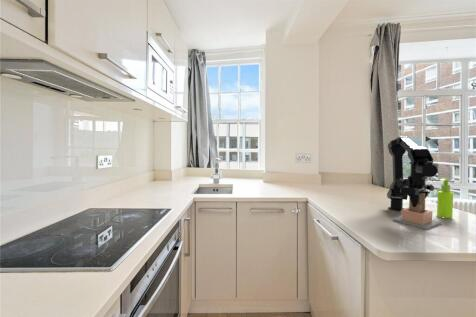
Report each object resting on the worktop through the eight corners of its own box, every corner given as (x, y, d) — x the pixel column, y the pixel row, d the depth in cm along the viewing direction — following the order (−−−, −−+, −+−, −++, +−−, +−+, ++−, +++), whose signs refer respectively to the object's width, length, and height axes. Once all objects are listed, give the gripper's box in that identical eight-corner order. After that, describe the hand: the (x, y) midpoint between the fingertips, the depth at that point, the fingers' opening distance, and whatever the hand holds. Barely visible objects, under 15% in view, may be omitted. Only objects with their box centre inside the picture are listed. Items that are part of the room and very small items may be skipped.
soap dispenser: (433, 216, 118) (434, 178, 117) (440, 214, 121) (442, 177, 119) (447, 219, 113) (448, 180, 111) (454, 217, 115) (456, 179, 114)
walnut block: (413, 209, 112) (414, 191, 112) (424, 211, 108) (425, 193, 108) (409, 210, 110) (409, 192, 110) (419, 213, 106) (420, 194, 106)
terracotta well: (407, 216, 119) (408, 204, 119) (441, 224, 107) (441, 211, 106) (392, 220, 112) (393, 208, 112) (426, 229, 100) (427, 216, 100)
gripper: (409, 171, 120) (408, 200, 121) (389, 173, 111) (388, 205, 112) (435, 173, 110) (433, 205, 111) (415, 176, 101) (414, 210, 102)
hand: (416, 206), depth 109 cm, fingers closed on walnut block, 4 cm apart
